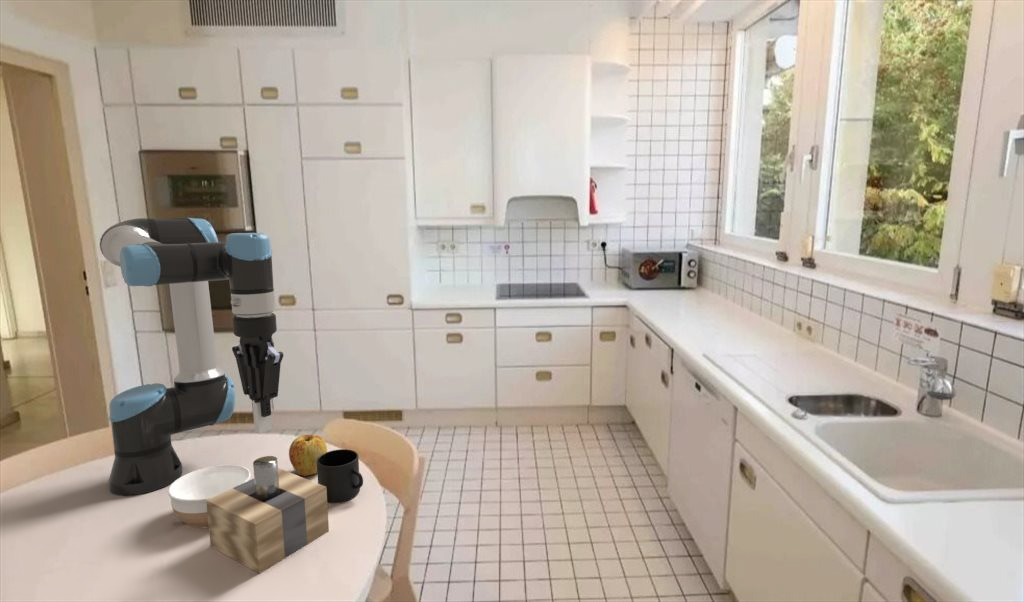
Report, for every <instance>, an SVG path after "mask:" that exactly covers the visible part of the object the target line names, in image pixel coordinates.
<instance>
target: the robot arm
mask: <svg viewBox="0 0 1024 602" xmlns="http://www.w3.org/2000/svg"><path fill="white" fill-rule="evenodd" d="M271 247H272V246H271V240H270V236H269V235H268V234H267V233H264V232H235V233H234V232H233V233H228V235H226V238H225V240H221V241H219V239H218V235H217V233H216V231H215V229H214V227H213V226H212V224H211V223H210V222H209V221H208V220H207V219H204V218H194V217H193V218H192V217H166V218H165V217H163V218H162V217H160V218H159V217H158V218H157V217H156V218H153V217H152V218H142V217H141V218H140V217H139V218H132V219H128V220H123V221H120V222H118V223H115V224H113V225H111V226H109V227H108V228H106V230H105V231H104V232H103V234H101V237H100V239H99V249H100V252H101V254H102V255H103V257H104V258H105V259H106V260H107V261H108V262H110V263H111V264H114V265H115V266H118V267H120V271H121V275H122V276H121V277H122V279H123V281H124V284H125V285H127V286H129V287H153V286H159V285H161V286H162V285H169V293H170V302H171V307H172V309H171V310H172V318H173V326H174V334H175V342H176V351H177V360H178V367H179V372H178V374H176V376H175V377H174V378H173V386H172V387H166V385H165V384H163V383H157V382H156V383H151V384H150V383H147V384H142V385H139V386H134V387H132V388H129V389H126V390H124V391H122V392H120V393H119V394H116V395H115V396H114V397H113V398H112V399H111V400H110V402H109V417H108V418H109V422H110V424H111V432H112V444H113V450H114V460H113V463H112V468H111V470H110V473H109V478H108V484H109V486H108V487H109V491H110V492H111V493H113V494H116V495H118V496H119V495H121V496H131V495H132V496H134V495H141V494H145V493H150V492H153V491H157V490H160V489H164V488H165V487H167V486H170V485H171V484H172V483H173V482H174V481H175V480H177V479H179V478H180V477H182V476H183V463H182V461H181V460H180V458H179V456H178V454H177V452H176V451H175V449H174V447H173V445H172V435H174V434H175V435H176V434H179V433H184V432H187V431H191V430H192V431H193V430H195V429H200V428H203V427H207V426H208V427H209V426H215V425H216V424H217V425H218V424H220V423H223V422H226V421H228V420H229V419H230V418H231V417H232V415H233V413H234V411H235V408H236V407H235V406H236V390H235V389H236V388H234V387H235V386H234V382H233V379H232V378H231V377H229V376H226V372H225V371H224V370H222V369H221V368H220V367H219V365H218V358H217V351H216V341H215V333H214V332H215V331H214V325H213V324H214V323H213V313H212V303H211V297H210V296H211V295H210V289H209V288H210V287H209V282H213V281H214V282H215V281H216V282H217V281H226V280H227V281H228V280H229V281H228V282H229V288H230V289H229V291H230V299H231V300H230V304H231V311H232V314H234V316H233V318H232V327H233V334H234V336H235V337H238V338H239V344H238V345H236V346H232V348H231V349H232V350H231V351H232V353H233V356H234V358H235V360H236V365H237V369H238V370H237V371H238V373H239V380H240V384H241V388H242V392H243V394H244V395H245V396H247V395H248V398H249V399H250V400H251V405H252V413H253V415H252V416H253V426H254V432H255V433H256V434H259V435H260V434H261V435H262V434H264V433H265V432H268V431H272V428H273V426H272V425H273V424H272V406H271V400H272V399H274V398H278V396H279V385H280V377H281V376H280V375H281V363H282V360H283V358H284V352H282V351H277V350H276V349H275V348H274V347H275V344H274V343H275V342H274V341H273V340H274V339H273V335H274V334H275V333H277V329H278V328H277V316H276V313H273V312H275V310H277V309H276V300H275V298H276V297H275V288H274V275H273V273H274V271H273V259H272V258H273V256H272V255H273V250H272V248H271Z"/></svg>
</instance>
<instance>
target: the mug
mask: <svg viewBox="0 0 1024 602" xmlns="http://www.w3.org/2000/svg"><path fill="white" fill-rule="evenodd" d="M359 460H360V459H359V453H358V452H357V451H355V450H352V449H345V448H342V449H340V448H339V449H333V450H330V451H327V452H326V453H324V454H322V455H321V456H319V457H318V459H317V473H316V475H317V483H318V484H320V485H323V486H326V489H327V503H329V504H330V503H331V504H333V503H334V504H335V503H337V504H338V503H343V502H348V501H349V500H351V499H354V498H355V497H356V496H357V495H358V494H359V492H360V490H361V488H362V486H363V485H364V477H363V475H362V473H361V472H360V463H359Z"/></svg>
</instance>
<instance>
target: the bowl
mask: <svg viewBox="0 0 1024 602" xmlns="http://www.w3.org/2000/svg"><path fill="white" fill-rule="evenodd" d="M251 474H252V473H251V471H250V470H249V469H248V468H247V467H245V466H243V465H238V464H219V465H217V464H216V465H211V466H207V467H203V468H199V469H195V470H193V471H191V472H188V473H186V474H183V475H181V477H180V478H179V479H177V480H175V481H174V482H173V483H171V484H169V487H168V490H167V494H168V496H169V498H170V505H171V508H172V511H173V513H174V514H175V515H176V517H177V518H178V519H179V520H181V521H182V522H184V523H185V524H186V525H187V526H189V527H191V528H194V529H205V528H209V524H208V514H207V503H206V500H207V499H210V498H212V497H214V496H216V495H219V494H221V493H223V492H225V491H227V490H230V489H232V488H234V487H236V486H239V485H241V484H243V483H245V482H247V481H250V480H251V476H252V475H251Z"/></svg>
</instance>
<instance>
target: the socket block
mask: <svg viewBox="0 0 1024 602" xmlns="http://www.w3.org/2000/svg"><path fill="white" fill-rule="evenodd" d="M278 477H279V491H280V495H278V496H276V497H274V498H272V499H270V500H268V501H266V502H261V501H259V500H257V499H256V492H255V480H254V478H252V479H249V481H247V482H245V483H243V484H241V485H239V486H236V487H234V488H232V489H230V490H227V491H225V492H223V493H221V494H219V495H216V496H214V497H212V498H210V499H207V500H206V503H207V514H208V524H209V527H208V534H209V542H210V547H211V548H213V549H215V550H216V551H219V552H220V553H222V554H223V555H226V556H227V557H228V558H231V559H233V560H234V561H236V562H238V563H240V564H242V565H243V566H245V567H247V568H248V569H250V570H251V571H252V570H253V571H254V572H256V573H258V574H261V573H263V572H264V571H266V570H268V569H270V568H271V567H273V566H275V565H277V563H279V562H281V561H283V560H284V559H286V558H287V557H289V556H290V555H292V554H294V553H296V552H297V551H299V550H300V549H302V548H304V547H305V546H307V545H309V544H310V543H312V542H314V541H315V540H317V539H319V538H320V537H321V536H323V535H324V534H326V533H329V531H330V530H329V529H330V528H329V513H328V508H329V507H328V502H327V489H326V486H323V485H320V484H318V482H315V481H312V480H310V479H307V478H305V477H304V476H301V475H297V474H295V473H291V472H289V471H287V470H284V469H283V468H282V469H281V468H279V467H278Z"/></svg>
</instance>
